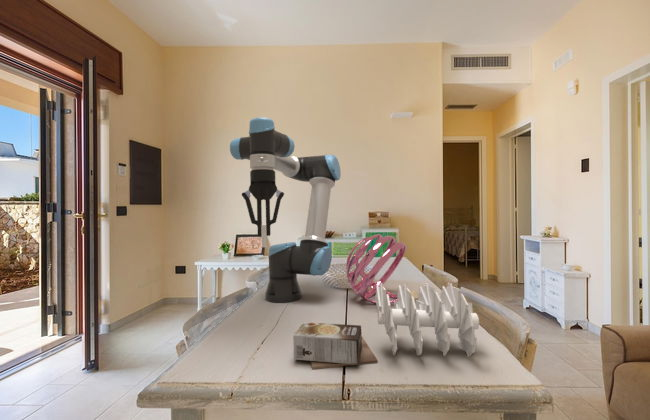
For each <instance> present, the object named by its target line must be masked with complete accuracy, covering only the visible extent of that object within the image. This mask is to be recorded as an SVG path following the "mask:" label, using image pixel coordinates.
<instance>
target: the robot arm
mask: <svg viewBox="0 0 650 420" xmlns="http://www.w3.org/2000/svg"><path fill="white" fill-rule="evenodd" d="M275 128H276V127H275V122H274V120H273V119H272V118H269V117H264V116H261V117H255V118H252V119H251V120H250V121H249V130H248V135H249V136H240V137H237V138H234V139H232V140H231V141H230V143H229V152H230V155H231V156H232V158H233V159H235V160H241V161H243V160H248V161H249V168H250V169H251V170H250V172H249V174H250V175H249V176H250V177H249V179H250V184H249V186H248V190H247V189H246V191H244V192H242V193H241V196H242V197H243V199H244V200H245V205H246V207H247V210H248V211H247V212H248V216H249V219H250V223H251V224H253V225H256V226H257V236H258V237H261V248H268V237H270V236H271V225H274V224H276V223H277V218H278V214H279V209H280V206H281V200H282V199H283V197H284V195H285V193H284V192H283V191H280V190H279V189H278V186H277V185H276V171H277V172H280V173H282V175H283V176H285V177H287V178H289V179H291V180H292V179H293V180H296V181H299V182H303V183H304V182H306V183H307V182H308V183H309V185H310V186H311V190H310V197H309V204H308V210H307V211H308V212H307V213H308V214H307V218H306V225H305V226H306V227H305V233H304V237H303V238H302V239H300V244H299V245H297V243H296V241H295V242H294V241H290V242H285V243H278V244H272V245H270V246H269V248H268V274H269V275H268V277H269V278H268V283H267V287H266V291H265V300H266V301H268V302H272V303H289V302H290V303H291V302H295V301H297V300H299V299H301V298H302V290H301V288H300V285H299V282H298V277H297V275H306V276H309V275H310V276H313V277H315V276H324V275H325V274H326V273H327V272H328V271H329V269H330V267H331V263H332V259H333V255H332V254H333V252H332V249H331V248H330V247H329V243H328V242H327V240H326V236H327V235H326V234H327V233H326V232H327V226H328V225H327V224H328V218H329V217H328V216H329V208H330V200H331V199H330V198H331V192H332V191H331V190H332V188H334V187H335V184H336V182H337V181H340V179H341V175H342V174H341V166H340V162H339V159H338V158H337V157H336V155H335V154H324V155H323V154H322V155H314V156H313V155H312V156H300V157H297V156H294V155H292V154H293V153H294V150H295V142H294V139H292V138H291V137H290V136H289V135H287V134H285V133H281V132H279V131H277V130H275ZM251 195H252V196H253V197H254V199H255V200H256V215H257V217H256V216H255V212H254V209H253V205H252V202H251V199H250V198H251ZM273 196H276V198H277V199H276V201H275V206H274V211H273V216H272V219H271V201H270V200H271V199H273ZM263 200H264V201H265V225H263V221H262V219H263V217H262V216H263V214H262V201H263Z"/></svg>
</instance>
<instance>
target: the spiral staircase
mask: <svg viewBox="0 0 650 420" xmlns="http://www.w3.org/2000/svg"><path fill="white" fill-rule="evenodd" d="M386 291H387V289H386V288H385V287H384V285H382V283H380V286H379V287H378V286H377V287H376V293H375V301H376V304H375V305H376V313H377V324H378V325H384V328H385V329H384V330H385V331H386V335H387V336H388V338H389V340H390V343H391V349H392V356H396V353H397V351H398V344H397V343H398V335H397V329H398V326H403V327H404V326H406V327H407V326H408V329H409V335H410V336H411V337H412V339H413V349H415V351H416V352H415V353H416V356H417V357H419V356H420V355H422V352H423V344H424V340H423V337H422V330H421V327H422V328H423V327H424V328H425V327H426V328H427V327H428V328H429V327H430V328H434V333H435V338H436V340H437V342H438V343H437V344H438V351H440V352H442V355H443V356H446V355H447V354H448V352H449V351H450V341H451V340H450V339H451V333H450V332H449V329H458V334H457V337H458V339H459V340H460V342H461V350H462V351H463V352H466V355H467V358H470V357H471V356H473V354H475V353H476V348H477V347H476V346H477V341H478V337H477V336H476V334H475V330H478V329H479V327H480V319H479V315H478V314H477V313H476V312H474V310H473V303H472V302H468V301H467V299H466V297H465V296H464V294H463V293H461V289H460V288H458V287H456V286H453V283H452V282H450V283H448V285H447V286H446V287H445V286H444V285H442V286H441V290H440V291H441V292H440V295H439V293H438V291H435V286H430V285H429V283H428V282H425V283H424V285H423V286H419V290H418V295H419V296H418V300H419V301H418V300H416V305H415V301H414V297H412V296H411V291H412V290H410V289H409V288H408V287H407V284H406V283H404V284H403V285H400V284H398V287H397V293H396V295H397V298H396V299H398V301H397V302H394V303H393V304H394V305H393V306H394V308H391V304H390V301H391V300H390V297H389V295H388V294H386Z"/></svg>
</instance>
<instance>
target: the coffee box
mask: <svg viewBox="0 0 650 420" xmlns="http://www.w3.org/2000/svg"><path fill="white" fill-rule="evenodd" d="M362 337H363V336H362V325H358V324H357V325H355V324H340V323H323V322H305V321H303V322H302V323H301V325H300V326H299V327H298V329H297V330H296V332H294V333H293V360H296V361H297V360H298V361H299V360H300V361H307V362H308V361H310V362H311V361H319V362H331V363H342V364H353V365H352V366H359V360H360V355H361V350H362Z"/></svg>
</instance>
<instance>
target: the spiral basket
mask: <svg viewBox="0 0 650 420" xmlns="http://www.w3.org/2000/svg"><path fill="white" fill-rule="evenodd" d="M375 239H376V241H375V244H373V246H372V247H371V248H370V249H369V246H370V243H371V242H372V241H373V240H375ZM387 242H388V245H387V246H386V249H385V251H384V253H383V254H382V255H381V256H380V258H379V259H378V260H377V261H376V263H375V264H374V265H373V266H372V268H371V269H370V271H369V272H368V273H366V272H365V269H366V268H367V267H368V266H369V264H370V263H371V262H372V261H373V259H374V258H375V257H376V255H377V254H378V252H379V250H380V249H381V247H382V246H383V245H385V243H387ZM358 246H359V247H358ZM367 249H369V250H368V251H367ZM366 251H367V252H366ZM397 251H398V252H397ZM406 251H407V245H406V243H404V242H403V241H398V242H397V241H396V238H395V237H394V236H392V235H385V236H383V235H382V234H380V233H378V234H373V235H371V236H366V237H363V238H362V239H360V240H359V241H358V242H356V243H355V245H354V246H353V247H352V249H351V250H350V252H349V254H348V256H347V259H346V263H345V265H346V268H345V274H346V278H347V282H348V283H349V286H350V287H351V289H352V291H353V292H354V293H355V294H356V295H357V296H358V297H359V298H361V299H362V300H363V301H365V302H367V303H371V304H375V305H376V300H372V299H370V298H371V297H372V296H373V295H376V287H377V286H378V287H379V286H380V283H382V286H384V285H385V283H386V282H387V280H388V279H389V278H391V275H393V273H394V272H395V270H396V269H397V268H398V266H399V264H400V263H401V261H402V259H403V258H404V256H405V254H406ZM365 252H366V253H365ZM395 253H397V255H396V256H395V258H394V260H393V261H392V263H391V264H390V266H389V267H388V269H387V270H386V271H385V273H384V274H383V275H382V276H381V277H380V279H379V280H378V281H376V282H374V281H373V280H374V279H375V277H376V276H377V275H378V273H379V272H380V270H382V268H383V267H384V265H385V264H386V263H387V262H388V261H389V260H390V259H391V258H392V257H393V256H394V254H395ZM360 259H361V260H360ZM359 260H360V261H359ZM354 264H355V269H354V270H353V271H351V269H352V266H353V265H354ZM350 271H351V272H350ZM359 275H360V276H361V280H360V281H359V282H357V280H358V278H359ZM356 282H357V283H356ZM369 287H370V289H369ZM368 289H369V290H368ZM367 290H368V291H367ZM386 294H388V295H389V298H392V299H393V300H390V305H392V304H394V302H398V298H397V294H395V293H391V292H389V291H387V290H386Z"/></svg>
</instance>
